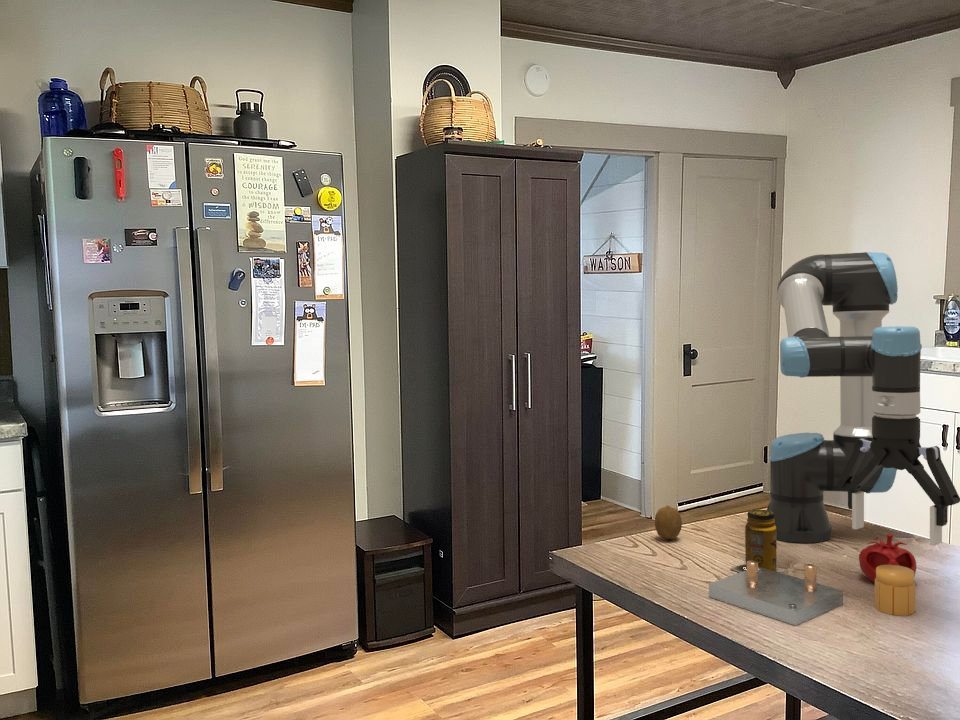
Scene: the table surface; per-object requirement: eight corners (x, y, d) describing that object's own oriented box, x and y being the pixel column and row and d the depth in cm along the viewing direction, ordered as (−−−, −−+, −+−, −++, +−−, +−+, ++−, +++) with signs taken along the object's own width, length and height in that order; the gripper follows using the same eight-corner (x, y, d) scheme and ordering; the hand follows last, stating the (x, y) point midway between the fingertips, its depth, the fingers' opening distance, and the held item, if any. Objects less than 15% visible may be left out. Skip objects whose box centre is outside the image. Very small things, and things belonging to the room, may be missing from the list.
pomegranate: (856, 572, 165) (855, 526, 165) (911, 575, 162) (910, 528, 162) (862, 587, 156) (862, 539, 155) (921, 591, 153) (921, 542, 152)
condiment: (786, 570, 167) (785, 512, 166) (759, 579, 162) (758, 520, 161) (756, 561, 173) (755, 505, 172) (729, 570, 168) (728, 512, 167)
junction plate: (757, 578, 162) (756, 544, 162) (843, 604, 148) (843, 566, 148) (708, 596, 154) (708, 560, 153) (795, 625, 139) (795, 585, 139)
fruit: (684, 543, 187) (684, 508, 186) (657, 543, 187) (656, 509, 187) (679, 535, 193) (678, 502, 193) (652, 536, 193) (651, 502, 193)
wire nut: (886, 600, 149) (886, 562, 149) (920, 609, 144) (920, 570, 144) (869, 608, 146) (869, 569, 145) (903, 618, 141) (903, 578, 140)
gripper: (817, 411, 150) (817, 525, 152) (962, 424, 130) (961, 555, 132) (839, 407, 155) (839, 518, 156) (983, 419, 135) (982, 546, 136)
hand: (895, 535), depth 144 cm, fingers open, 13 cm apart
